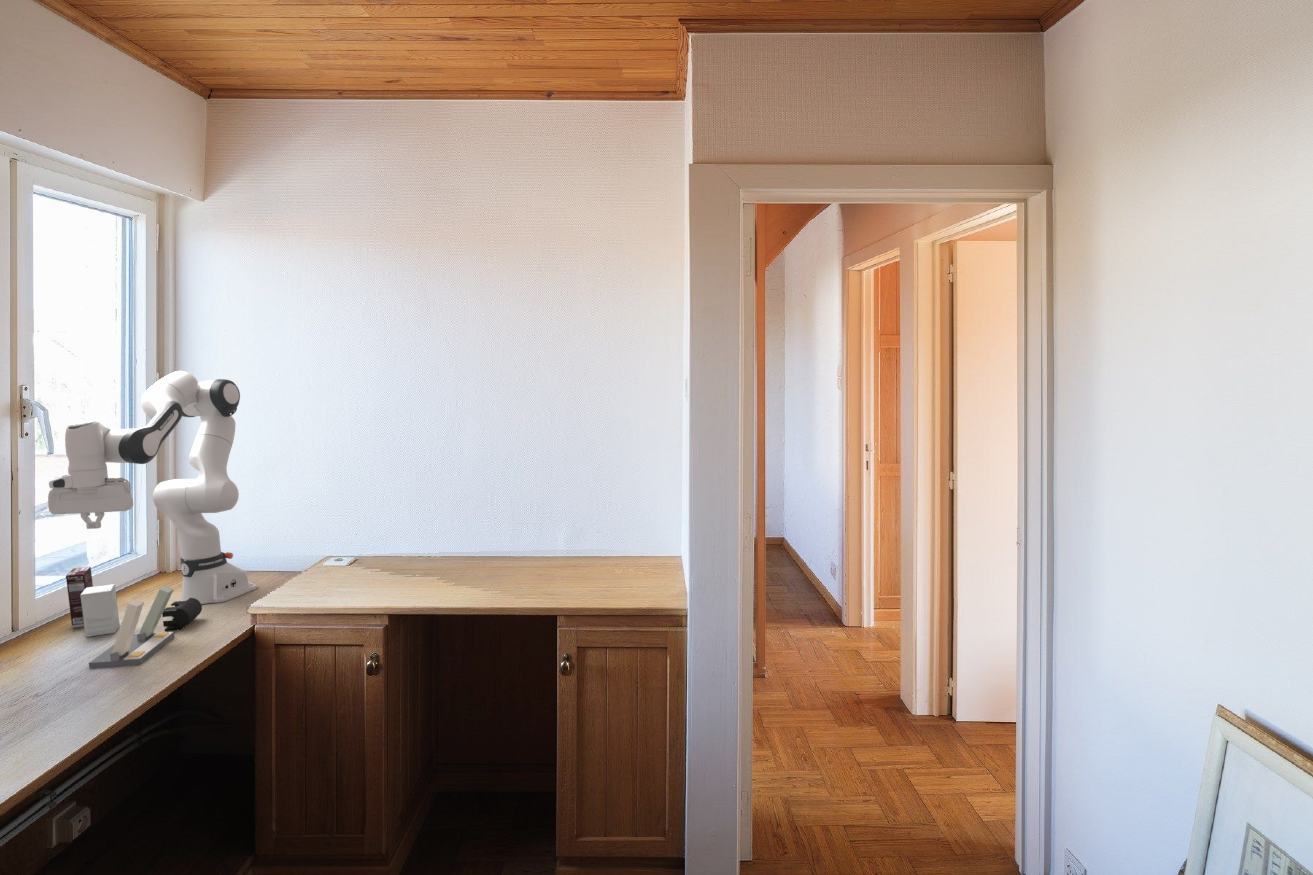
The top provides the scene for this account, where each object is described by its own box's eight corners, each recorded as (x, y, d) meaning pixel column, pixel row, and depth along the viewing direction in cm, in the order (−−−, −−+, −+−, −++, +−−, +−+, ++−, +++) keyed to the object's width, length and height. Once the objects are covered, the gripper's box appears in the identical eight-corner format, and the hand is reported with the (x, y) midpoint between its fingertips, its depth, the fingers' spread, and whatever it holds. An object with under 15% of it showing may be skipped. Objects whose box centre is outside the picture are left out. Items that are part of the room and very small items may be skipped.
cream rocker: (110, 656, 209) (127, 603, 208) (118, 651, 213) (134, 599, 212) (120, 659, 210) (137, 606, 209) (127, 653, 213) (144, 602, 212)
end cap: (190, 630, 234) (187, 607, 233) (163, 632, 233) (161, 609, 232) (203, 618, 244) (201, 596, 243) (177, 620, 243) (175, 598, 242)
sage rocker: (137, 636, 223) (159, 589, 222) (143, 631, 226) (165, 585, 226) (145, 640, 223) (168, 592, 223) (152, 635, 227) (174, 588, 226)
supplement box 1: (78, 619, 246) (72, 568, 244) (97, 617, 247) (91, 565, 245) (70, 628, 238) (64, 575, 236) (90, 625, 240) (84, 573, 238)
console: (89, 668, 208) (87, 655, 207) (128, 640, 227) (127, 627, 227) (140, 664, 209) (138, 651, 209) (174, 636, 229) (173, 624, 228)
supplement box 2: (120, 625, 240) (116, 583, 238) (115, 633, 233) (110, 590, 231) (90, 629, 237) (85, 586, 235) (84, 637, 230) (79, 594, 228)
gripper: (135, 475, 230) (139, 523, 231) (55, 478, 227) (61, 527, 229) (123, 479, 224) (128, 528, 225) (42, 482, 221) (47, 532, 223)
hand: (94, 528), depth 227 cm, fingers closed
